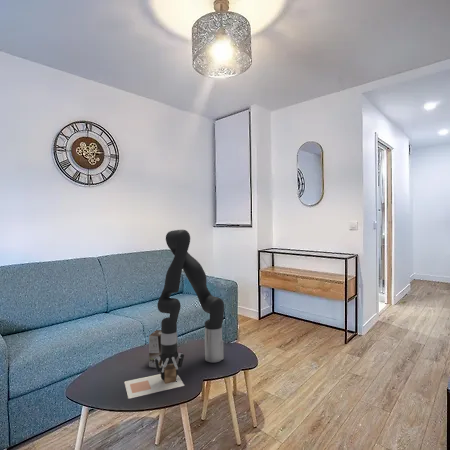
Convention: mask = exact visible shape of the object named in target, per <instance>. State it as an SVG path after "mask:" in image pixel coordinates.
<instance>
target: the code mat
mask: <svg viewBox="0 0 450 450" xmlns="http://www.w3.org/2000/svg"><path fill="white" fill-rule="evenodd" d="M176 381H177V382H171V383H167V384H165V382H164V380H163V379H161V373H159V374H154V375H149V376H145V377H139V378H134V379H129V380H126V381H124V386H125V390H126V393H127V399H133V398H137V397H142V396H147V395H151V394H155V393H158V392H159V393H160V392H163V391H167V390H171V389H176V388H181V387H184V386H185V384H184V382H183V381H182V378H181V377H180V376H179V375H178V376H177V377H176Z"/></svg>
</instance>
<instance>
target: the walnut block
mask: <svg viewBox="0 0 450 450" xmlns="http://www.w3.org/2000/svg"><path fill="white" fill-rule="evenodd" d="M164 375H165V380H164V382H165V384H167V383H171V382H176V367H175V366H174V365H173V364H168V365H166V368H165V370H164Z"/></svg>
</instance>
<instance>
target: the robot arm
mask: <svg viewBox="0 0 450 450" xmlns="http://www.w3.org/2000/svg"><path fill="white" fill-rule="evenodd" d="M165 242H166V245H167V247H168V249H169V250H170V252H171V253H172V254H173V256H174V257H173V259H172V261H171V263H170V265H169V266H168V269H167V271H166V274H165V279H164V286H163V289H162V292H161V293H160V296H159V298H158V301H157V310H158V312H160V313H162V314H169V317H164V318H163V319H162V320H161V321H160V322H161V325H160V326H161V327H160V328H161V329H160V330H161V355H160V357H157V358H156V357H155V358H154V361H155V365H156V368H155V369H156V370H157V372H158V373H160V374H161V379H163V380H165V375H164V370H165V368H166V365H169V364H173V365H174V366H175V367H176V377H177V376H179V368H182V366H183V364H184V363H183V361H184V357H185V355H184V353H183V352H178V340H179V339H178V331H177V329H178V328H177V327H178V324H177V323H178V318H179V315H180V311H181V302H180V300H179V299H178V298H173V297H171V295H172V294H176V293H177V294H178V292H179V291H180V287H181V279H182V271H183V273H184V274H185V276H186V278H187V280H188V282H189V283H190V286H191V287H192V289H193V291H194V293H195V294H196V296H197V299H198V302H199V303H200V304H199V305H200V307H201V309H202V310H203V311H204V312H205V313H206V314H209V319H207V320H205V321H204V360H205V361H206V362H208V363H211V364H212V363H214V364H215V363H219V362H221V361H222V360H224V358H225V357H224V340H223V322H224V317H225V316H224V312H225V311H224V310H225V305H224V304H225V303H224V301H223V299H222V298H220V297H218V296H213V295H212V294H211V292H210V291H209V288H208V286H207V275H206V271H205V270H204V269H203V266H202V265H201V263H200V262H199V261H198V259H196V258H194V257H193V255H191V254H190V253H189V248H190V243H191V235H190V233H189V231H187V230H186V229H176V230H175V229H173V230H170V231H168V232H167V233H166V235H165ZM177 358H178V361H176V360H177ZM160 359H161V360H162V366H161V368H160V367H159V362H160ZM177 362H178V363H177Z"/></svg>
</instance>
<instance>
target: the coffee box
mask: <svg viewBox="0 0 450 450" xmlns="http://www.w3.org/2000/svg"><path fill="white" fill-rule="evenodd" d="M160 355H161V329H155V330H154V331H153V332H152V333H151V334H149V336H148V367H149V368H155V369H156V365H155V361H154V358H155V357H156V358H157V357H160ZM161 366H162V360H161V359H160V362H159V367H160V368H161Z"/></svg>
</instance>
